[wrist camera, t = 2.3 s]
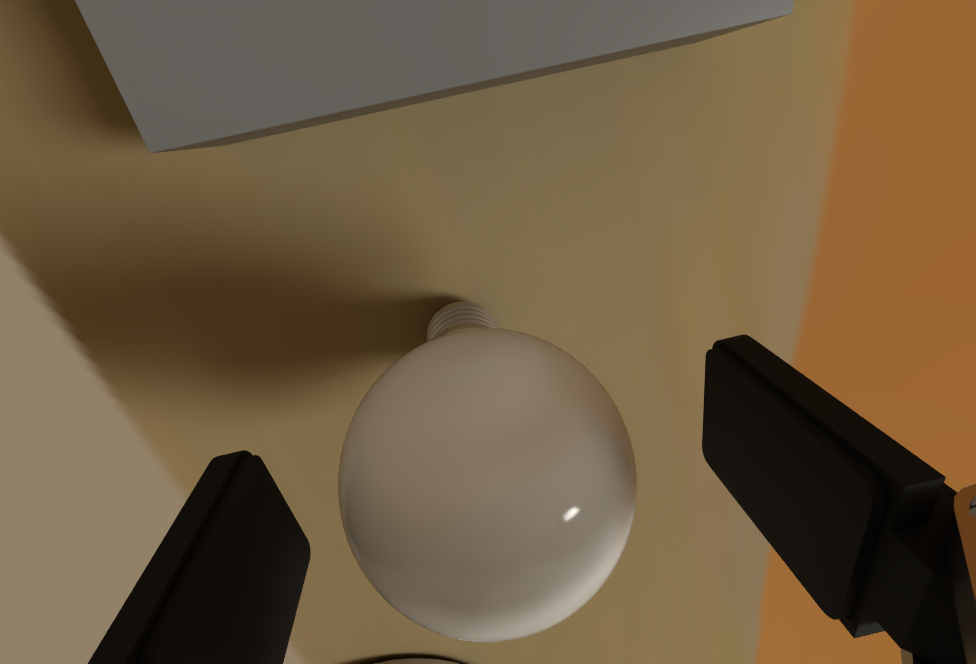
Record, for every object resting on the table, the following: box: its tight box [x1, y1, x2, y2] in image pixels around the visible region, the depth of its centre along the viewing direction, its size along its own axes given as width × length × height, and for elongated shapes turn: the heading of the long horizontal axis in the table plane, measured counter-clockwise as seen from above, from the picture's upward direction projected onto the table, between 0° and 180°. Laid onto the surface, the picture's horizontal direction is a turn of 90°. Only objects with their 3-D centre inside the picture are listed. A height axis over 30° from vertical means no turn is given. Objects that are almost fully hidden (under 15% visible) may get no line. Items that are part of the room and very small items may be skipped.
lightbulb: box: [338, 301, 637, 642], centre depth 12 cm, size 6×6×11 cm
